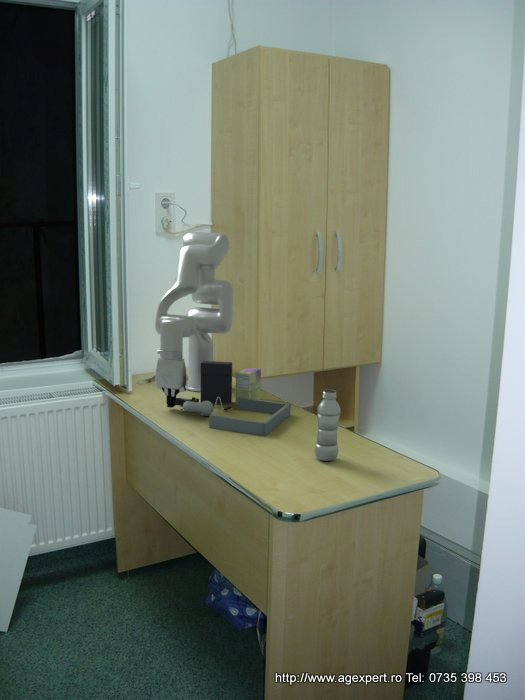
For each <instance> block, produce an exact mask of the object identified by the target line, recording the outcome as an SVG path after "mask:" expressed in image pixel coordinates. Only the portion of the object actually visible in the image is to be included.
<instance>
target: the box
mask: <svg viewBox="0 0 525 700" xmlns="http://www.w3.org/2000/svg"><path fill="white" fill-rule="evenodd" d="M261 384H262V369H261V368H257V367H246V368H244V369H241V370H239V371H237V372H235V394H234V395H235V396H234V397H235V400H234V402H235V405H237V399H238V397H242V398H250V399H257V400H262V399H261V392H262V391H261V390H262V388H261V386H262V385H261Z"/></svg>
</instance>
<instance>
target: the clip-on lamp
mask: <svg viewBox="0 0 525 700" xmlns="http://www.w3.org/2000/svg"><path fill="white" fill-rule="evenodd" d="M218 398H219V399H220V397H217V399H218ZM217 399H216V403H217ZM220 402H221V399H220ZM216 403H215V404H214V406H213V403H211V402H209V401H203V402H202V403H201V401H200V398H196V397H195V396H192V397H191V398H181V397H176V402H175V404H176V405H175V406H179V410H180V411H183V410H184V412H191V413H199V414H200V415H202V416H204V417H209V416H210V415H212V414H213V412H214V409H215V408H216V407H217V404H216ZM220 406H221V407H220V408H222V410H223V411H229V410H231V409H233V406H231V405H229V406H227V407H224V406H223V404H222V402H221V404H220Z"/></svg>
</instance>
